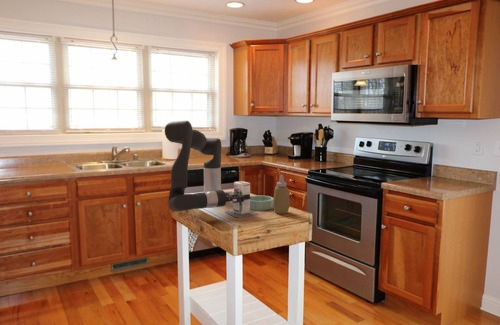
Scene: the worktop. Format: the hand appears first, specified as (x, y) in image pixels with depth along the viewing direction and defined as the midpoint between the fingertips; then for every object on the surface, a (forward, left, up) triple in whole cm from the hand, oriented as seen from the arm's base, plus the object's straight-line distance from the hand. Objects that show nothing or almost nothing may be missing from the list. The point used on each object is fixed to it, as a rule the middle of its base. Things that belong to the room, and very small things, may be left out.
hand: (245, 195), depth 185 cm
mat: (0, -2, -8) cm, 9 cm away
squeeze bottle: (+8, +15, -9) cm, 19 cm away
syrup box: (0, -2, -8) cm, 9 cm away
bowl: (-7, +12, -8) cm, 16 cm away
